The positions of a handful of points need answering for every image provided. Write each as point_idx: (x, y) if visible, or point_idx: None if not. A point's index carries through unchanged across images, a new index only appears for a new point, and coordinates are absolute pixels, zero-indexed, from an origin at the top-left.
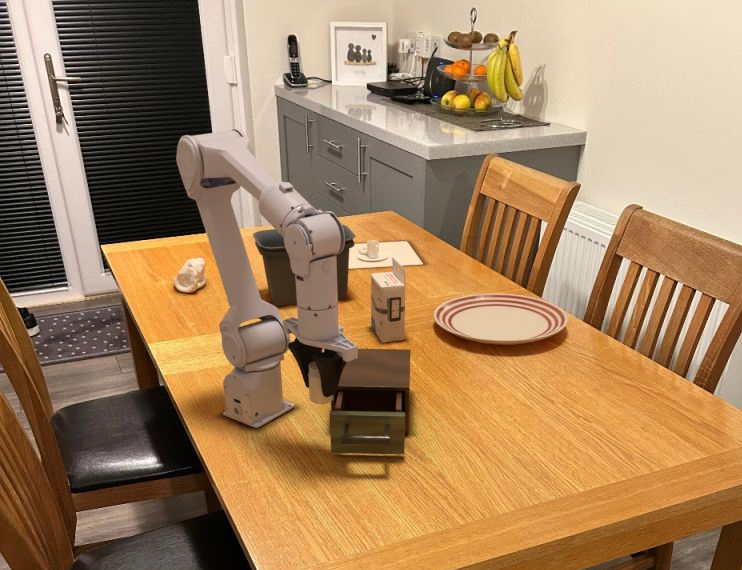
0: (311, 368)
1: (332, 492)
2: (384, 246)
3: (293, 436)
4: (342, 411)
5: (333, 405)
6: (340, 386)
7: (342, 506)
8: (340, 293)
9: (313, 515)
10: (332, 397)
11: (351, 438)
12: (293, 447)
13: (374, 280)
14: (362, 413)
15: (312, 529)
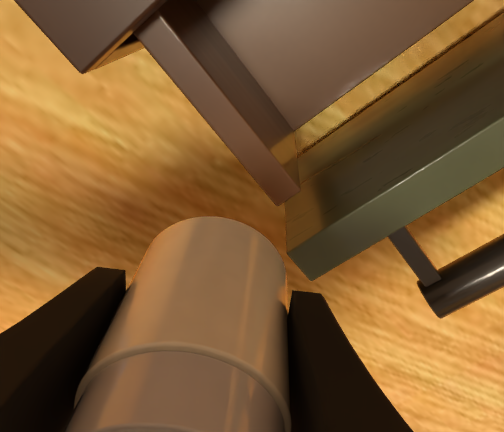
0: None
1: (426, 309)
2: None
3: (88, 158)
4: (346, 222)
5: (138, 45)
6: (135, 27)
7: (490, 336)
8: None
9: (443, 394)
10: (285, 274)
11: (481, 297)
12: (150, 209)
13: None
14: (461, 170)
15: (473, 425)
